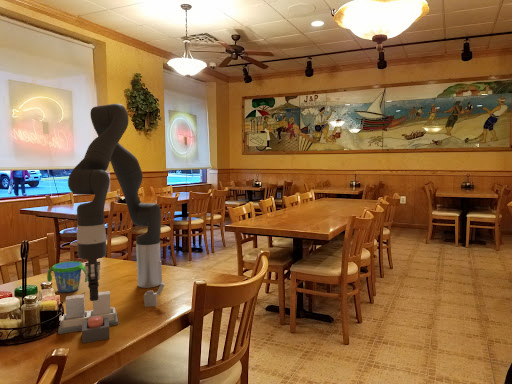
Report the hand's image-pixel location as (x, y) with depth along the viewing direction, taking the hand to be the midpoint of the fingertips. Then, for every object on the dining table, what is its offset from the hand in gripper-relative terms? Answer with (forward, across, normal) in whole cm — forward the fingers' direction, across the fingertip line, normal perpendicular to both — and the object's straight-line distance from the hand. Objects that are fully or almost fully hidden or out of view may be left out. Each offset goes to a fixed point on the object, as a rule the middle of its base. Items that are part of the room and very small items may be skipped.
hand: (94, 299), depth 110 cm
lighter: (+11, +17, -19) cm, 28 cm away
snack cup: (+11, +47, +10) cm, 49 cm away
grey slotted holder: (+11, +10, +2) cm, 15 cm away
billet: (+10, +10, +6) cm, 15 cm away
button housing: (+11, 0, 0) cm, 11 cm away
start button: (+8, 0, 0) cm, 8 cm away
